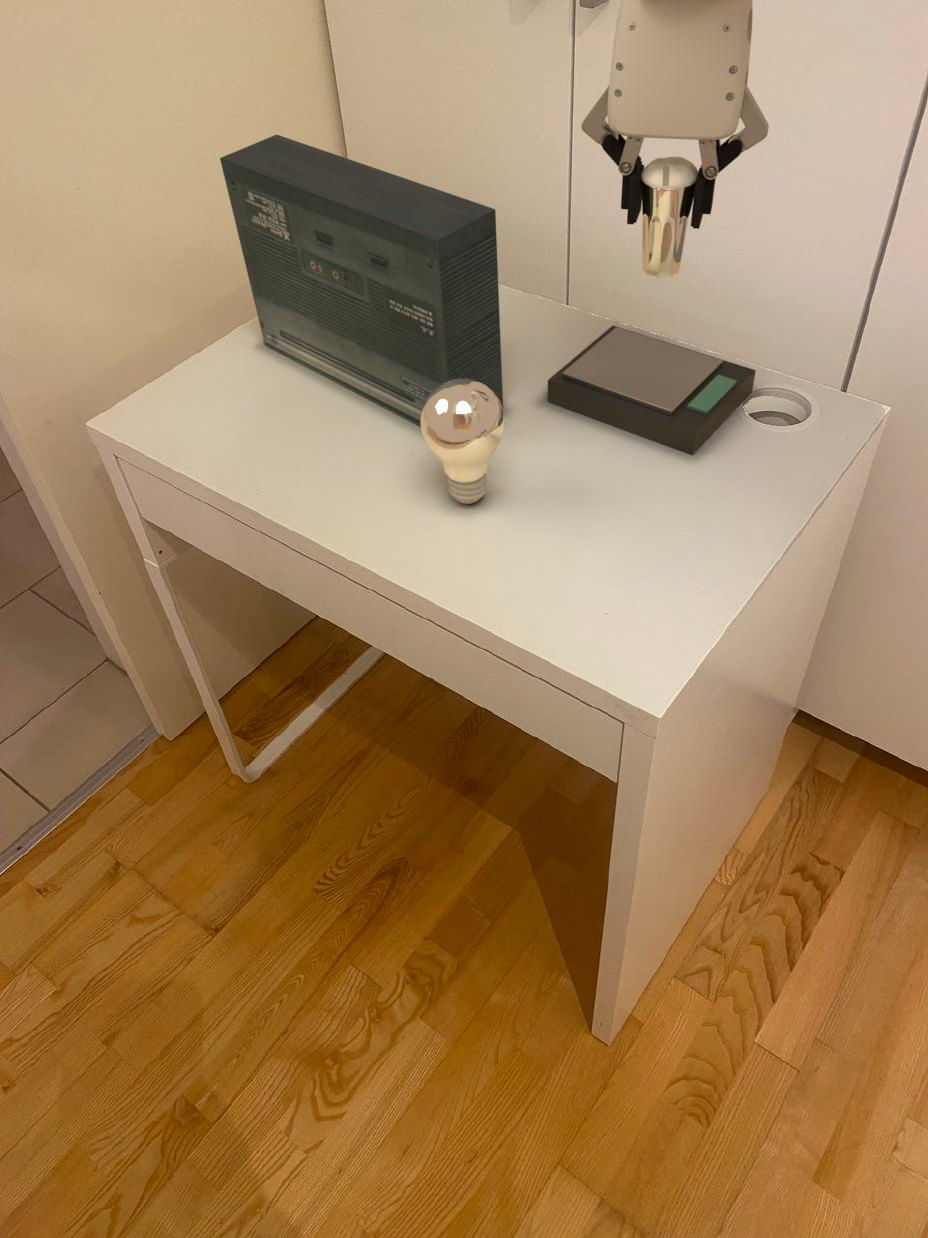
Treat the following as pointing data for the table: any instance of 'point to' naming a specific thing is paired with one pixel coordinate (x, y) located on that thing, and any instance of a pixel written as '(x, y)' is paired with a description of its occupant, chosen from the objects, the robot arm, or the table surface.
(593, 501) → the table surface
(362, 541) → the table surface
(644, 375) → the scale
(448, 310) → the cassette player
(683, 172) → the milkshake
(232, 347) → the table surface
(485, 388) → the light bulb
